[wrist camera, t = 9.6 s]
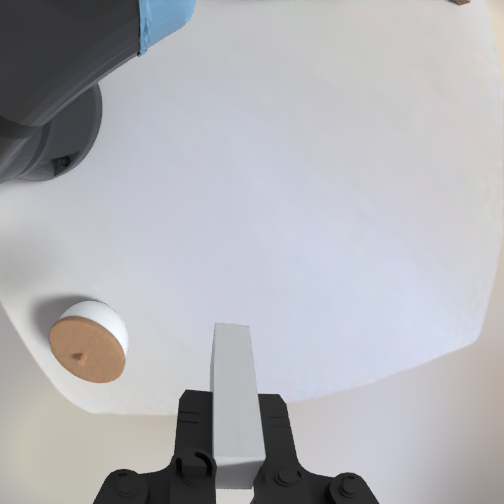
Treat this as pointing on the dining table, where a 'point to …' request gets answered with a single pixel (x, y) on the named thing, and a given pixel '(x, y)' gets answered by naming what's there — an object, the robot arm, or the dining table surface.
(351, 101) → the dining table surface
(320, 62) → the dining table surface
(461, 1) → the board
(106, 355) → the lidded jar
